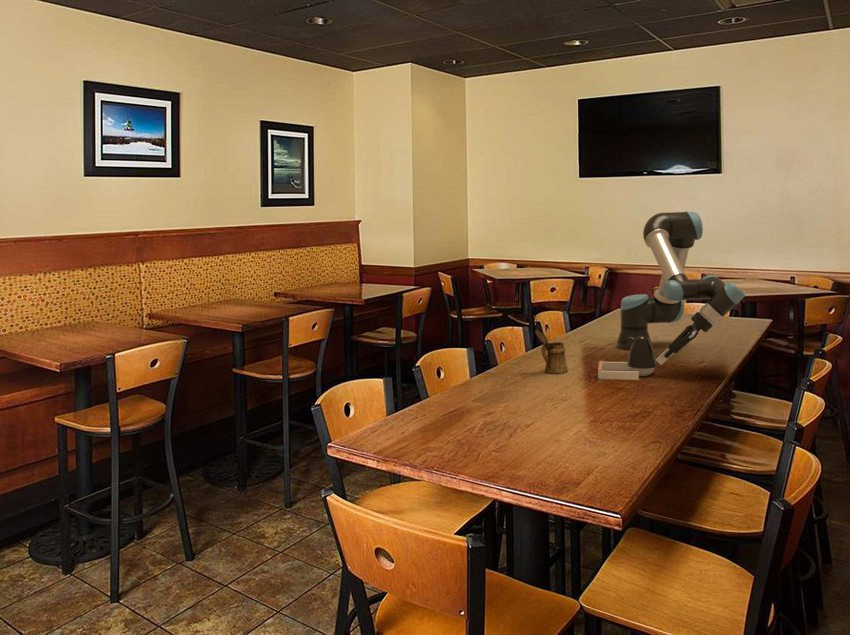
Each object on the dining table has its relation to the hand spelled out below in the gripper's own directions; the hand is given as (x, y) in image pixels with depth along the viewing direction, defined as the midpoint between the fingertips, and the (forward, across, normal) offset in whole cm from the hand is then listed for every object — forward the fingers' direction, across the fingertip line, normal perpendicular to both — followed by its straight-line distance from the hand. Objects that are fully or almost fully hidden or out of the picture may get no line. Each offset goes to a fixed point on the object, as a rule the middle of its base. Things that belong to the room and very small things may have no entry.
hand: (658, 362), depth 270 cm
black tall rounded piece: (+8, +2, 0) cm, 8 cm away
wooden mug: (+32, +3, +25) cm, 41 cm away
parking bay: (+14, +2, +6) cm, 15 cm away
